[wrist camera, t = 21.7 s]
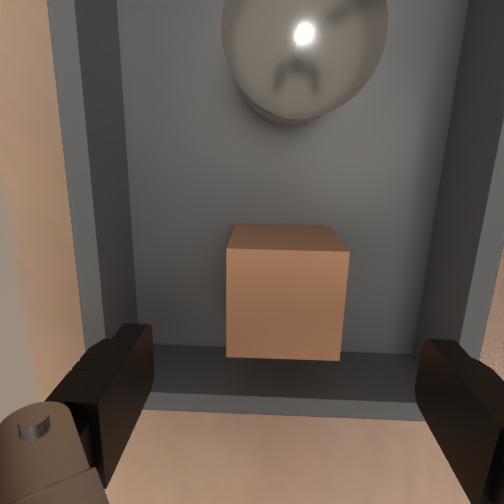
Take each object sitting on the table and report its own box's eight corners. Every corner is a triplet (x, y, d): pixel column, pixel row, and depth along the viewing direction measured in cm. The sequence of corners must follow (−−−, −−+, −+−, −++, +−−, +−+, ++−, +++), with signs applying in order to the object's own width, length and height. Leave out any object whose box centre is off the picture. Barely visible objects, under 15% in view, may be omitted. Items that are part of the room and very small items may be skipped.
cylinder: (237, 10, 18) (221, -71, 11) (346, 12, 17) (398, -69, 11) (236, 124, 19) (221, 115, 12) (337, 127, 19) (378, 118, 12)
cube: (235, 223, 20) (226, 248, 16) (329, 225, 20) (349, 252, 15) (234, 309, 22) (226, 356, 17) (322, 312, 22) (339, 360, 17)
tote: (90, -133, 17) (19, -243, 12) (507, -130, 16) (608, -243, 11) (127, 352, 23) (91, 407, 19) (423, 364, 23) (465, 422, 18)
